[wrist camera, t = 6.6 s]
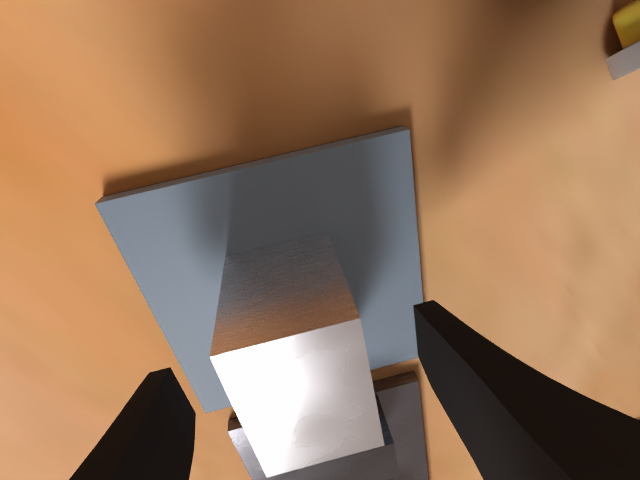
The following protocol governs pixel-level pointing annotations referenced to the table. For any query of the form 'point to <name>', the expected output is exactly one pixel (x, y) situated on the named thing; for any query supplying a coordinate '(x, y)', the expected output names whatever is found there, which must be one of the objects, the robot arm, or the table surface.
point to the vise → (371, 465)
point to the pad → (272, 227)
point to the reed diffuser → (626, 41)
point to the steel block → (294, 355)
